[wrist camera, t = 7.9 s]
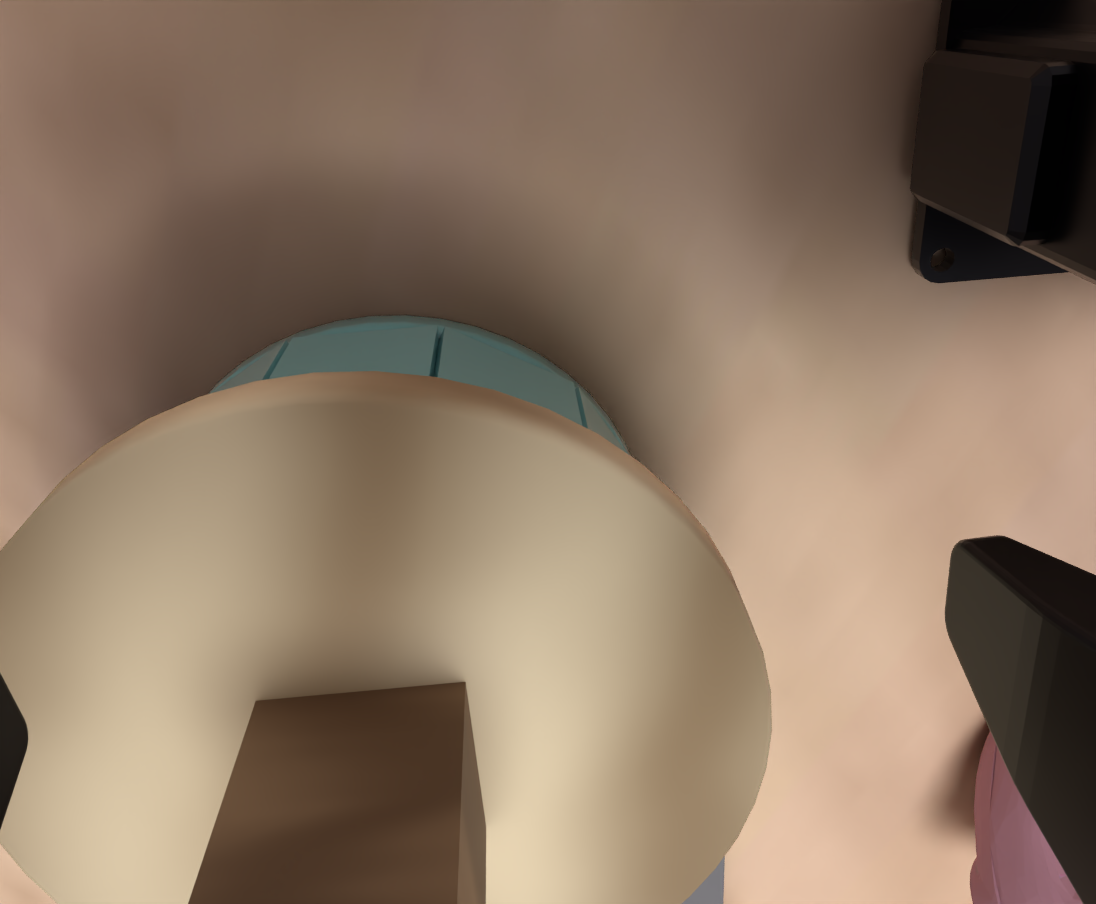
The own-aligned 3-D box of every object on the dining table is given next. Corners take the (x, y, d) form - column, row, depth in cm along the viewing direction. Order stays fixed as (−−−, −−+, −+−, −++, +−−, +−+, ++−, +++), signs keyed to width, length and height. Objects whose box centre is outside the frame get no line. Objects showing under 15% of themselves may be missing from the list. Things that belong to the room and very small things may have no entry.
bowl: (640, 292, 20) (696, 405, 14) (650, 702, 25) (693, 895, 20) (97, 339, 19) (-53, 470, 14) (226, 742, 25) (153, 947, 19)
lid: (771, 334, 14) (960, 562, 8) (742, 922, 20) (836, 1272, 15) (-152, 411, 13) (-599, 701, 8) (117, 983, 20) (-27, 1363, 14)
